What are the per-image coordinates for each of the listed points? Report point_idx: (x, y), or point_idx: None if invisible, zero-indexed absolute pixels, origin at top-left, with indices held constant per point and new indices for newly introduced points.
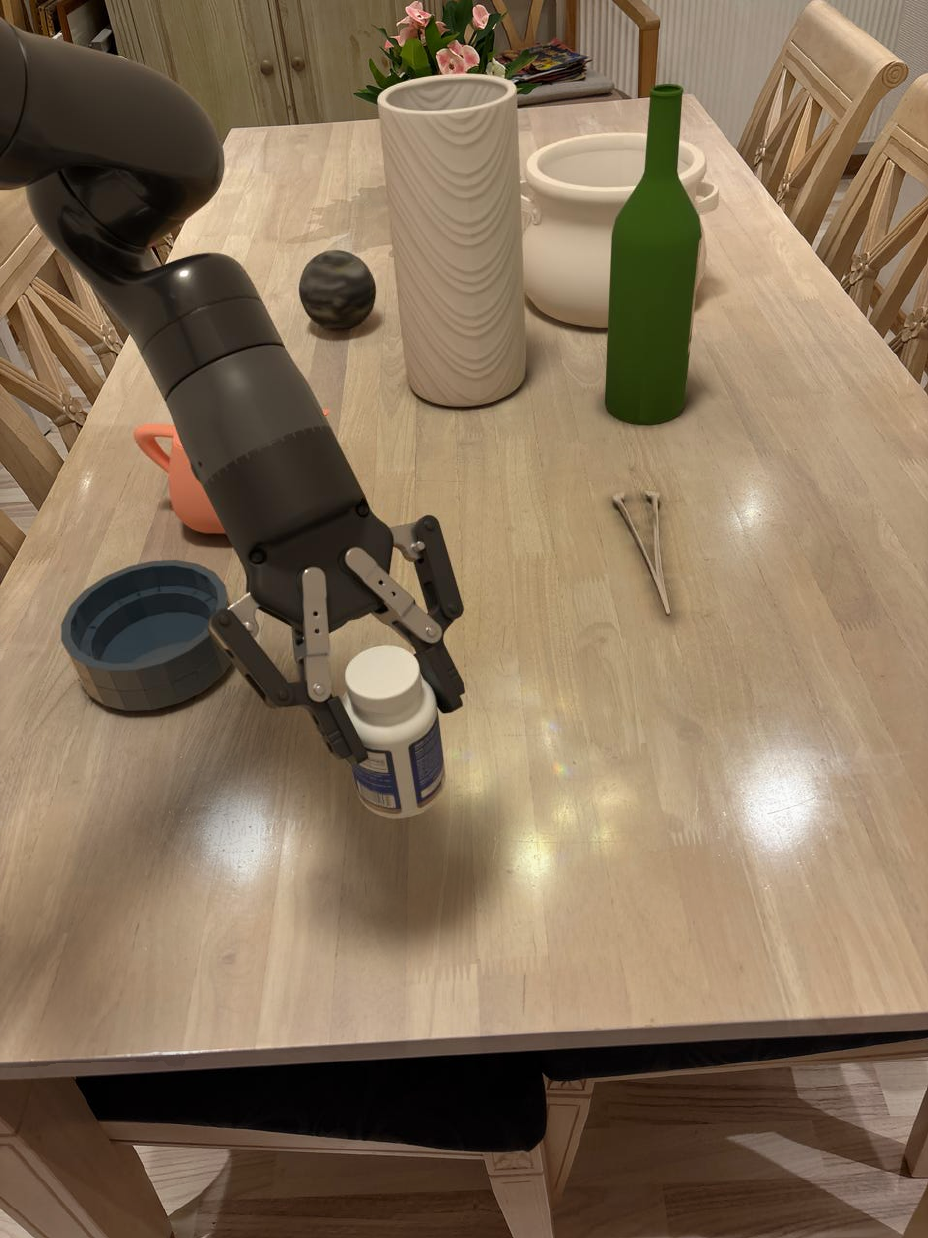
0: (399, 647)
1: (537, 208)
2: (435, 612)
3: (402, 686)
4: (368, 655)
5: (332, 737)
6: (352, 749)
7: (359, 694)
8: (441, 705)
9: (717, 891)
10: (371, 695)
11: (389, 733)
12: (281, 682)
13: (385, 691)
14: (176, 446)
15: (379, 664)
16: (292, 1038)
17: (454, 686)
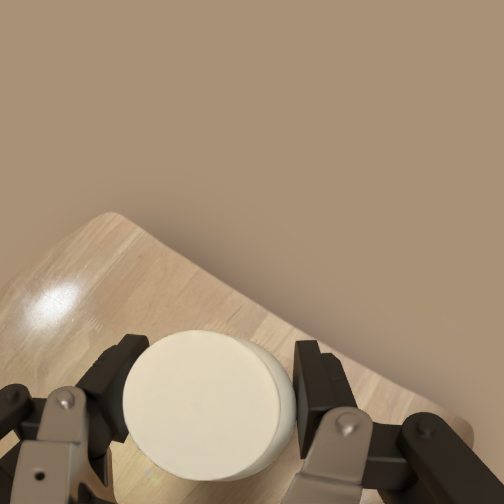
0: (129, 432)
1: None
2: (34, 421)
3: (190, 340)
4: (193, 462)
5: (339, 374)
6: (317, 347)
7: (273, 379)
8: None
9: (112, 290)
10: (254, 361)
11: (249, 346)
12: (426, 448)
13: (225, 351)
14: None
15: (189, 424)
16: (364, 367)
17: (117, 346)
